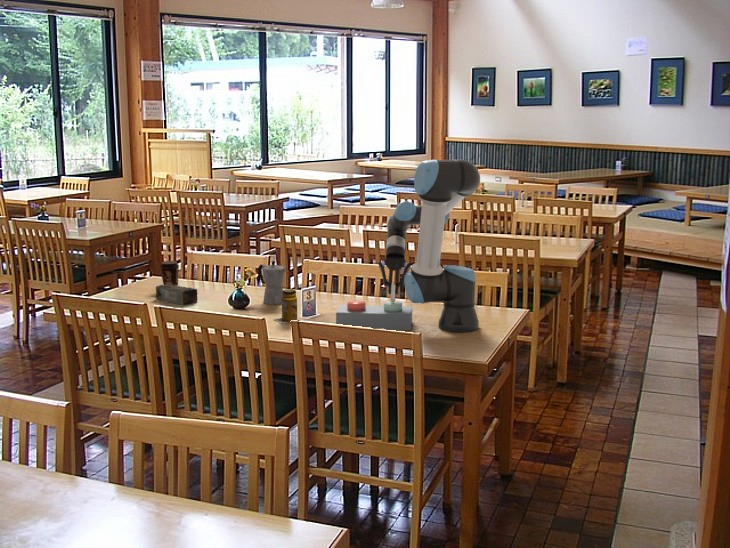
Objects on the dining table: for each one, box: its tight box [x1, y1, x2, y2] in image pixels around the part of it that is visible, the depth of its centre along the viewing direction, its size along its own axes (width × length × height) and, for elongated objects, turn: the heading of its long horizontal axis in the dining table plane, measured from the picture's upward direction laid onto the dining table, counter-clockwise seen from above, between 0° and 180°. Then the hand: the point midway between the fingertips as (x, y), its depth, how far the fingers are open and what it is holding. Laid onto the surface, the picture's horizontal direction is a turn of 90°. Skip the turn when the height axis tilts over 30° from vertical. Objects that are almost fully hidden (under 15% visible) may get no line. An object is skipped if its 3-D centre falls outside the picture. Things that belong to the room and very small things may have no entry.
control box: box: [335, 304, 413, 331], centre depth 313 cm, size 28×12×6 cm, turn 84°
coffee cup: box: [159, 260, 180, 286], centre depth 372 cm, size 9×8×13 cm
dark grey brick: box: [155, 284, 198, 306], centre depth 352 cm, size 8×19×7 cm, turn 51°
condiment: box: [273, 288, 300, 324], centre depth 319 cm, size 7×8×12 cm
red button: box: [346, 300, 367, 311], centre depth 313 cm, size 7×7×8 cm
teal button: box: [383, 301, 403, 312], centre depth 311 cm, size 7×7×8 cm
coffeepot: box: [257, 260, 286, 306], centre depth 349 cm, size 15×9×18 cm, turn 54°
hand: (392, 300), depth 311 cm, fingers closed
